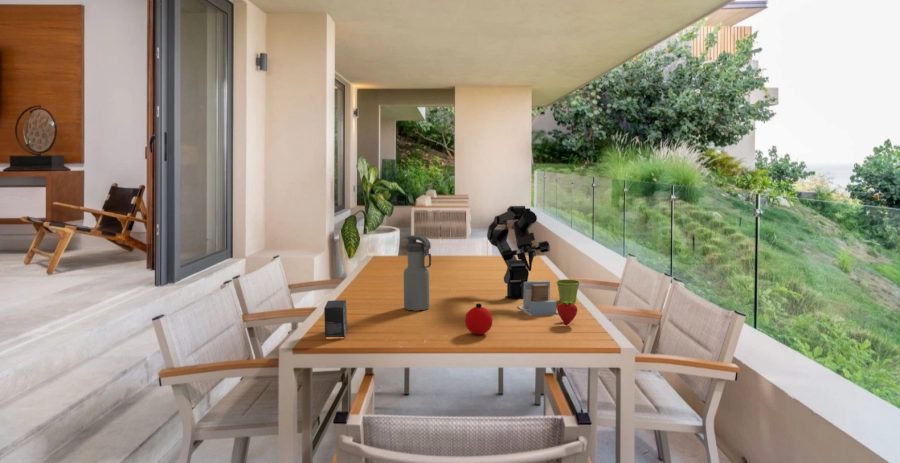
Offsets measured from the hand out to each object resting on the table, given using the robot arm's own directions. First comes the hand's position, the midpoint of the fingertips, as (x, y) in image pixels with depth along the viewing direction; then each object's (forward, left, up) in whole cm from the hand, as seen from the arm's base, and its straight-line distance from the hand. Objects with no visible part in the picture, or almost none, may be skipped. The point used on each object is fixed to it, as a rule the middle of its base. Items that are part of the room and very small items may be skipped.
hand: (530, 270), depth 240 cm
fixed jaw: (+13, -13, -13) cm, 23 cm away
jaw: (+8, -9, -12) cm, 17 cm away
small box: (-27, -76, -14) cm, 82 cm away
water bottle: (-31, -32, -14) cm, 46 cm away
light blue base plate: (+9, -10, -13) cm, 19 cm away
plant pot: (+10, +12, -14) cm, 21 cm away
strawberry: (+26, -19, -14) cm, 35 cm away
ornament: (+9, -47, -14) cm, 50 cm away
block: (+11, -11, -13) cm, 20 cm away
